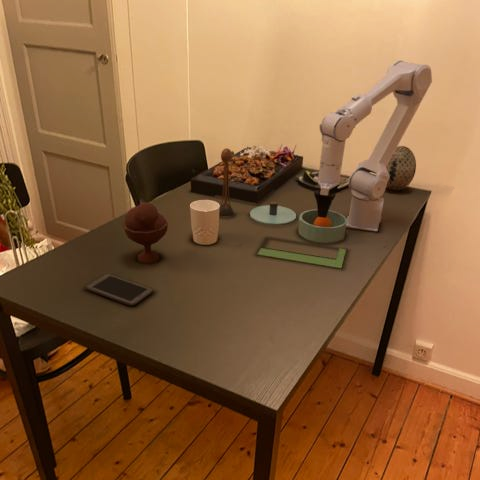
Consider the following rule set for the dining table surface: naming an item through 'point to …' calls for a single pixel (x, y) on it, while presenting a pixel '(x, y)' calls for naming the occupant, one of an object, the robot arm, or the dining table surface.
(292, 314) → the dining table surface
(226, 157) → the wooden tabletop sculpture
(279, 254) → the green flat l-shaped piece
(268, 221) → the lid
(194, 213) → the white cup
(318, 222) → the orange
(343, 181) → the salad plate
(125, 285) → the cell phone
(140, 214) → the ice cream bowl
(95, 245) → the dining table surface
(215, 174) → the food platter
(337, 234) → the pot
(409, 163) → the decorative egg
